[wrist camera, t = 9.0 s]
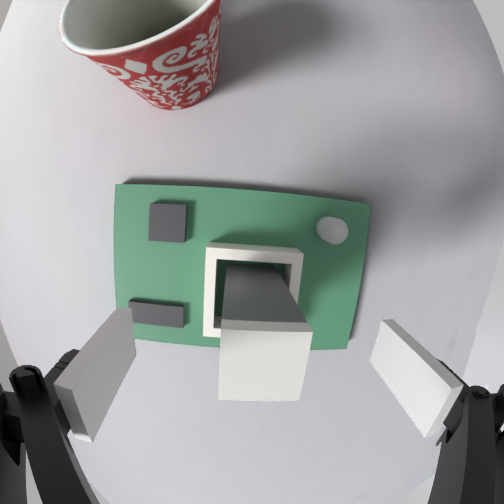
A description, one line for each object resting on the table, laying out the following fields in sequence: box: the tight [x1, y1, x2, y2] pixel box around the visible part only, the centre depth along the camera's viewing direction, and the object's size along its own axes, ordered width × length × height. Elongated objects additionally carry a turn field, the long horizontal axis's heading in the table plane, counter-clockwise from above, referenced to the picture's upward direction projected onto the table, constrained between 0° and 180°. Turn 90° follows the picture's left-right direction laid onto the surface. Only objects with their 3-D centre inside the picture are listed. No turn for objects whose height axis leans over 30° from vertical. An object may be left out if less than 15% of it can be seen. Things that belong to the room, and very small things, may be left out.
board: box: [114, 184, 371, 350], centre depth 23 cm, size 14×22×4 cm, turn 85°
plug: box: [218, 263, 313, 401], centre depth 18 cm, size 4×4×12 cm
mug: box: [59, 0, 221, 110], centre depth 14 cm, size 13×9×14 cm
